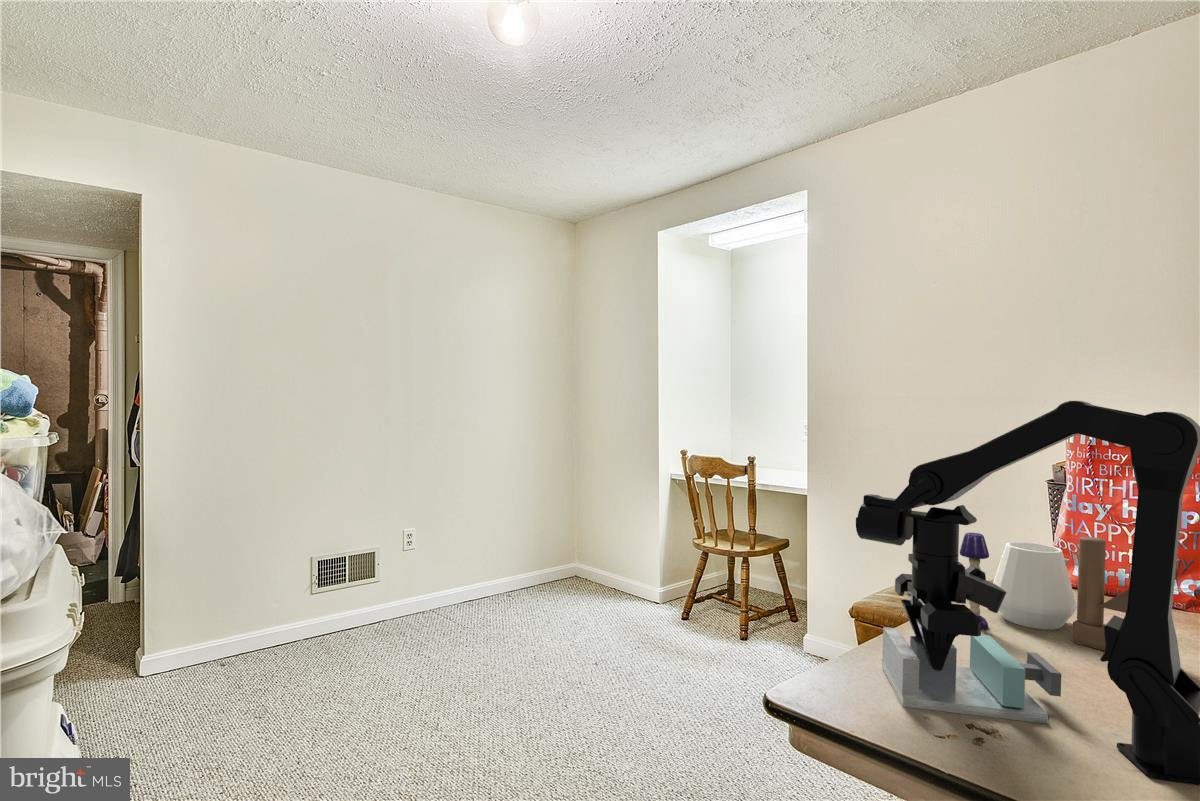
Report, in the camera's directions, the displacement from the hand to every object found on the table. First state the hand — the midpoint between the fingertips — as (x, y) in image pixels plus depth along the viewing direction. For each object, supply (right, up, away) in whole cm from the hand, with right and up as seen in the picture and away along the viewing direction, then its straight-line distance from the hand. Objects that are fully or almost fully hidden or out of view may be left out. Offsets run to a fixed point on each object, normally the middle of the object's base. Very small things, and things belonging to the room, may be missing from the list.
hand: (932, 663), depth 90 cm
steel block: (0, -3, 0) cm, 2 cm away
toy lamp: (+21, -4, +27) cm, 35 cm away
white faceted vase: (+34, -5, +30) cm, 46 cm away
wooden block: (+38, -5, +16) cm, 42 cm away
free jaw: (+10, -3, -2) cm, 11 cm away
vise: (+3, -4, -1) cm, 5 cm away
